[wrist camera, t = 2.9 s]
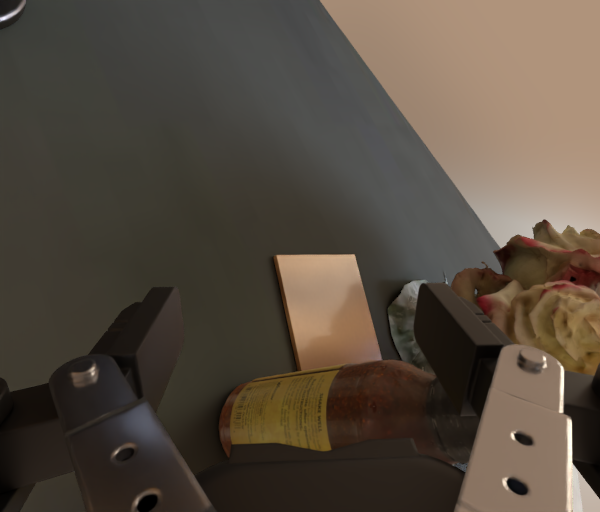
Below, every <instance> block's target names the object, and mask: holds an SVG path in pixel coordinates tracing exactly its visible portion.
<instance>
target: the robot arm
mask: <svg viewBox="0 0 600 512" xmlns="http://www.w3.org/2000/svg"><path fill="white" fill-rule="evenodd" d="M25 4H26V0H0V29H3V28H5V27H8V26H10V25H12V24H13V23H15V22H16V21H17V20H18V19H19V18H20V17H21V15H22V14H23V11H24V9H25ZM413 329H414V336H415V340H416V342H417V344H418V346H419V347H420V349H421V351H422V352H423V354H424V356H425V358H426V359H427V361H428V363H429V364H430V366H431V368H432V369H433V371H434V373H435V375H436V376H437V378H438V380H439V381H440V383H441V385H442V387H443V388H444V390H445V392H446V393H447V395H448V397H449V399H450V400H451V402H452V404H453V405H454V407H455V409H456V410H457V412H458V414H459V416H478V418H479V420H480V423H479V427H478V430H477V434H476V437H475V441H474V444H473V448H472V451H471V455H470V458H469V462H468V465H467V469H466V472H463V471H462V470H460V469H459V468H457V467H455V466H453V465H451V464H449V463H447V462H445V461H442V460H440V459H437V458H435V457H432V456H428V455H425V454H420V453H418V450H417V448H416V445H415V443H414V440H413V438H392V439H368V440H365V441H361V442H358V443H354V444H350V445H347V446H343V447H340V448H336V449H333V450H329V451H318V450H312V449H307V448H302V447H297V446H291V445H286V444H281V443H254V444H231V449H230V456H229V460H227V461H224V462H221V463H218V464H216V465H213V466H211V467H209V468H207V469H205V470H203V471H201V472H199V473H198V474H196V475H195V476H194V475H193V473H192V472H191V470H190V468H189V467H188V465H187V463H186V462H185V460H184V459H183V457H182V455H181V454H180V452H179V451H178V449H177V447H176V446H175V444H174V442H173V441H172V439H171V438H170V436H169V434H168V433H167V431H166V430H165V428H164V426H163V425H162V423H161V421H160V420H159V418H158V417H157V415H156V411H157V409H158V406H159V404H160V401H161V399H162V396H163V394H164V392H165V389H166V387H167V384H168V382H169V379H170V377H171V374H172V372H173V369H174V367H175V364H176V362H177V359H178V357H179V354H180V352H181V349H182V347H183V342H184V325H183V317H182V309H181V301H180V294H179V290H178V288H177V287H153V288H152V289H151V290H150V291H149V293H148V294H147V295H146V297H145V298H144V300H143V301H142V302H135V303H134V304H132V305H130V306H129V307H127V308H126V309H124V310H123V311H121V313H120V314H119V315H118V317H117V318H116V319H115V321H114V323H112V324H111V326H110V327H109V328H108V331H106V332H105V333H104V335H103V336H102V337H101V339H100V340H99V341H98V343H97V344H96V345H95V346H94V348H93V349H92V350H91V352H90V353H89V354H88V355H86V356H82V357H78V358H76V359H73V360H71V361H69V362H67V363H65V364H63V365H62V366H60V367H59V368H58V369H57V370H56V371H55V372H54V373H53V374H52V375H51V377H50V379H49V383H47V384H43V385H39V386H35V387H30V388H26V389H21V390H17V391H13V392H10V391H9V388H8V386H7V383H6V381H5V380H4V379H2V378H0V512H20V510H21V508H22V506H23V505H24V503H25V501H26V500H27V498H28V496H29V494H30V493H31V491H32V489H33V488H34V486H35V484H36V483H37V482H40V481H43V480H47V479H50V478H53V477H56V476H60V475H63V474H66V473H69V472H73V471H75V475H76V478H77V481H78V485H79V488H80V491H81V495H82V498H83V501H84V505H85V508H86V511H87V512H573V482H572V463H573V464H574V466H575V467H576V468H577V470H578V471H579V472H580V474H581V475H582V476H583V478H584V479H585V480H586V482H587V483H588V484H589V485H590V487H591V488H592V489H593V491H594V492H595V493H596V495H597V496H598V497H599V499H600V363H599V365H598V367H597V370H596V372H595V375H588V374H582V373H577V372H571V371H565V370H564V368H563V366H562V365H561V363H560V362H559V361H558V360H557V359H555V358H554V357H553V356H551V355H550V354H548V353H546V352H544V351H542V350H539V349H537V348H534V347H530V346H526V345H518V344H514V343H513V342H512V341H511V340H510V339H509V338H508V337H507V336H506V335H505V334H504V333H503V332H502V331H501V330H500V329H499V328H498V327H497V326H496V325H495V324H494V323H492V321H491V320H490V319H489V318H488V317H487V316H486V315H484V313H483V312H482V311H481V310H480V309H479V308H478V307H477V306H476V305H475V304H474V303H472V302H470V301H468V300H466V299H465V298H463V297H458V295H457V294H456V293H455V292H454V291H453V290H452V289H451V288H450V287H449V286H448V285H447V284H446V283H422V284H421V285H420V287H419V291H418V297H417V304H416V311H415V317H414V325H413Z"/></svg>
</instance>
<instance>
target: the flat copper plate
mask: <svg viewBox="0 0 600 512" xmlns="http://www.w3.org/2000/svg"><path fill="white" fill-rule="evenodd" d="M273 258H274V262H275V267H276V272H277V276H278V281H279V286H280V290H281V295H282V300H283V304H284V309H285V314H286V318H287V323H288V328H289V332H290V337H291V342H292V346H293V351H294V356H295V360H296V365H297V370H298V372H299V371H305V370H311V369H317V368H323V367H330V366H336V365H342V364H348V363H357V364H361V363H367V362H374V361H378V360H382V357H381V353H380V349H379V345H378V341H377V338H376V334H375V330H374V326H373V323H372V319H371V315H370V311H369V307H368V304H367V300H366V296H365V292H364V288H363V285H362V281H361V277H360V273H359V270H358V266H357V262H356V258H355V255H275V256H273Z"/></svg>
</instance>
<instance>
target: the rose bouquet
mask: <svg viewBox="0 0 600 512" xmlns="http://www.w3.org/2000/svg"><path fill="white" fill-rule="evenodd" d="M533 233H534V239H530V238H527V237H522V236H520V235H516V236H514V237H512V238H511V239H510V241H509V242H507V245H506V246H504V247H503V248H501V249H500V250H494V251H493V253H494V254H495V256H496V258H497V259H498V261H499V263H500V265H501V268H502V272H503V275H502V274H497V273H495V272H494V271H493V270H492V269H491V268H488V266H487V265H486V264H485V263H484V262H482V263H483V264H485V265H486V268H485V269H479V268H474V269H472V268H468V269H464V270H463V271H462V272H460V273H457V274H456V276H455V278H454V280H453V282H452V284H451V289H452V290H453V291H454V292H455V293H456V294H457V295H458V297H463V298H465V299H466V300H468V301H470V302H472V303H474V304H475V305H476V306H477V307H478V308H479V309H480V310H481V311H482V312H483V313H484V315H486V316H487V317H488V318H489V319H490V320H491V321H492V323H494V324H495V325H496V326H497V327H498V328H499V329H500V330H501V331H502V332H503V333H504V334H505V335H506V336H507V337H508V338H509V339H510V340H511V341H512V342H513V343H514V344H518V345H526V346H530V347H534V348H537V349H539V350H542V351H544V352H546V353H548V354H550V355H551V356H553V357H554V358H555V359H557V360H558V361H559V362H560V363H561V365H562V366H563V368H564V370H565V371H571V372H577V373H582V374H588V375H595V372H596V370H597V367H598V365H599V363H600V234H599V233H597V232H596V231H594V230H592V229H585V230H583V231H582V232H580V235H579V234H578V233H577V231H576V230H575V229H574V228H573V227H570V226H569V225H568V226H567V228H566V229H565V230H564V231H563V233H562V234H560V233H558V232H557V231H556V230H555V229H554V228H553V227H552V225H551V224H550V223H549V222H548V221H547V220H543V221H542V222H539V223H537V224H536V225H535V227H534V228H533ZM446 280H447V279H446ZM422 283H428V282H427V281H426V280H420V281H418V280H417V281H413V282H412V283H411V282H410V284H409V283H408V284H406V285H404V288H403V290H402V291H401V294H400V295H399V296H398V298H396V299H395V301H393V303H392V305H390V307H388V310H387V311H388V316H389V322H390V328H391V335H392V338H393V340H394V343H395V346H396V349H397V350H398V352H399V354H400V356H401V359H402V361H404V362H407V363H409V364H411V365H414V366H415V367H417V368H419V369H421V370H423V371H424V372H427V373H431V374H434V375H435V373H434V371H433V369H432V368H431V366H430V364H429V363H428V361H427V359H426V358H425V356H424V354H423V352H422V351H421V349H420V347H419V346H418V344H417V342H416V340H415V336H414V329H413V325H414V317H415V311H416V304H417V297H418V291H419V287H420V285H421V284H422ZM446 284H447V281H446ZM475 288H476V289H477V292H478V293H477V294H474V291H475ZM458 463H459V462H458ZM456 464H457V463H456ZM463 464H465V463H463ZM453 466H454V464H453Z"/></svg>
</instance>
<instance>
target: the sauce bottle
mask: <svg viewBox="0 0 600 512" xmlns="http://www.w3.org/2000/svg"><path fill="white" fill-rule="evenodd" d="M479 423H480V420H479V418H478V416H459V414H458V412H457V410H456V409H455V407H454V405H453V404H452V402H451V400H450V399H449V397H448V395H447V393H446V392H445V390H444V388H443V387H442V385H441V383H440V381H439V380H438V378H437V376H436V375H434V374H431V373H427V372H424V371H423V370H421V369H419V368H417V367H415V366H414V365H411V364H409V363H407V362H404V361H398V360H391V359H390V360H378V361H374V362H367V363H361V364H357V363H348V364H342V365H336V366H330V367H323V368H317V369H311V370H305V371H299V372H293V373H287V374H281V375H275V376H269V377H263V378H257V379H254V380H252V381H251V382H247V383H244V384H241V385H239V386H238V387H237V388H236V389H235V390H233V391H232V393H231V394H230V395H229V397H228V398H227V400H226V403H225V405H224V406H223V408H222V411H221V415H220V422H219V432H220V441H221V443H222V446H223V449H224V451H225V453H226V455H227V456H228V457H229V456H230V449H231V444H254V443H281V444H286V445H291V446H297V447H302V448H307V449H312V450H318V451H329V450H333V449H336V448H340V447H343V446H347V445H350V444H354V443H358V442H361V441H365V440H368V439H392V438H413V440H414V443H415V445H416V448H417V450H418V453H420V454H425V455H428V456H432V457H435V458H437V459H440V460H442V461H445V462H447V463H449V464H451V465H453V464H456V463H458V462H459V463H468V462H469V458H470V455H471V451H472V448H473V444H474V441H475V437H476V434H477V430H478V427H479Z"/></svg>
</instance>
